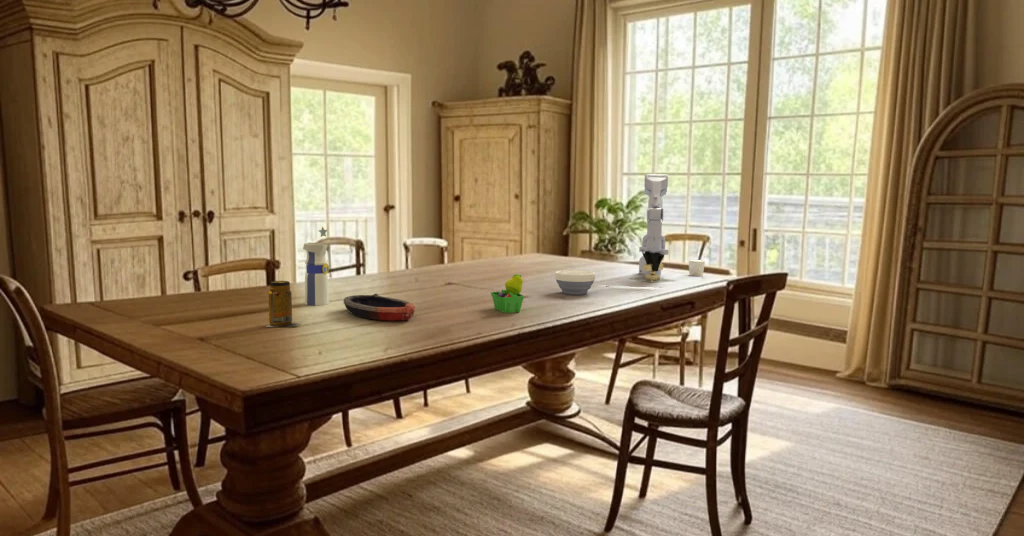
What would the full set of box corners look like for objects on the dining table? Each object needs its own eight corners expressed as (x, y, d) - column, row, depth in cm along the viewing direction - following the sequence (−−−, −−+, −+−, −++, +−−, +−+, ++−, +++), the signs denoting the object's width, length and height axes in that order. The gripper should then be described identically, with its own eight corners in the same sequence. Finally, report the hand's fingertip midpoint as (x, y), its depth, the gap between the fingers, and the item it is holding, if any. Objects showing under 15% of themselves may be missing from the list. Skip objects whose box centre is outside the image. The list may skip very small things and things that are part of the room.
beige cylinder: (687, 277, 309) (688, 260, 308) (688, 275, 316) (689, 259, 315) (703, 277, 307) (704, 261, 306) (704, 275, 314) (705, 260, 313)
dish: (374, 306, 229) (374, 290, 228) (431, 320, 206) (431, 303, 206) (330, 311, 218) (329, 295, 218) (385, 327, 196) (384, 309, 195)
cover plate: (627, 280, 294) (627, 278, 294) (653, 278, 301) (653, 276, 301) (651, 285, 282) (651, 282, 282) (677, 283, 289) (677, 280, 289)
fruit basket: (489, 307, 228) (489, 272, 227) (515, 306, 231) (516, 271, 230) (501, 314, 217) (502, 277, 216) (528, 312, 220) (529, 276, 219)
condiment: (271, 322, 200) (270, 279, 199) (302, 322, 201) (301, 279, 199) (264, 327, 193) (263, 283, 191) (297, 327, 194) (296, 283, 192)
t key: (647, 281, 287) (648, 265, 286) (640, 279, 290) (641, 264, 290) (663, 279, 292) (664, 264, 291) (656, 278, 295) (657, 262, 295)
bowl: (581, 297, 250) (581, 276, 249) (546, 293, 258) (547, 272, 257) (602, 293, 261) (602, 272, 260) (568, 288, 270) (569, 269, 269)
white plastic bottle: (335, 302, 234) (334, 225, 231) (322, 306, 226) (320, 227, 222) (313, 300, 236) (312, 224, 233) (299, 304, 228) (297, 226, 225)
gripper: (634, 236, 293) (633, 269, 295) (660, 239, 281) (658, 273, 283) (646, 235, 297) (645, 268, 299) (672, 238, 285) (671, 272, 287)
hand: (652, 270), depth 291 cm, fingers closed on t key, 2 cm apart
